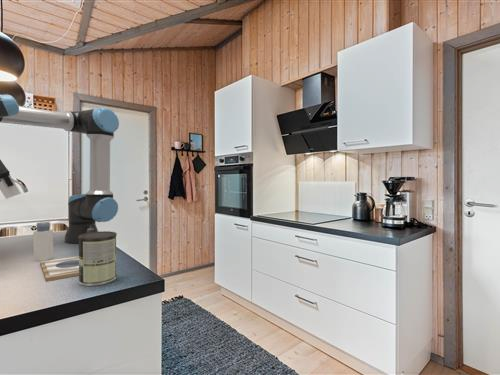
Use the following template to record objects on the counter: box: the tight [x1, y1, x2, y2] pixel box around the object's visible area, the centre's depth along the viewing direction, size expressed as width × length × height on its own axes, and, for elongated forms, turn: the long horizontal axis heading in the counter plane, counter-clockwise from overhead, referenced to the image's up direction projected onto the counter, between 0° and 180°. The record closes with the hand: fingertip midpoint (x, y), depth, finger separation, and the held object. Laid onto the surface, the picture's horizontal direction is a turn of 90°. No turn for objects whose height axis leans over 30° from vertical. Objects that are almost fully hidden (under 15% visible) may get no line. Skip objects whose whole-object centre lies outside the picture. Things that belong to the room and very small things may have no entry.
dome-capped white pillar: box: [32, 221, 54, 262], centre depth 108 cm, size 4×4×14 cm
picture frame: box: [39, 255, 79, 282], centre depth 98 cm, size 22×16×1 cm
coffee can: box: [78, 230, 117, 287], centre depth 86 cm, size 10×10×14 cm
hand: (13, 196), depth 100 cm, fingers open, 13 cm apart
